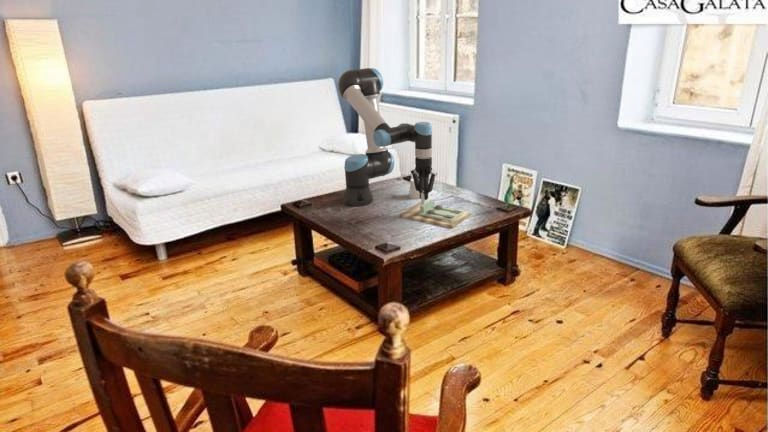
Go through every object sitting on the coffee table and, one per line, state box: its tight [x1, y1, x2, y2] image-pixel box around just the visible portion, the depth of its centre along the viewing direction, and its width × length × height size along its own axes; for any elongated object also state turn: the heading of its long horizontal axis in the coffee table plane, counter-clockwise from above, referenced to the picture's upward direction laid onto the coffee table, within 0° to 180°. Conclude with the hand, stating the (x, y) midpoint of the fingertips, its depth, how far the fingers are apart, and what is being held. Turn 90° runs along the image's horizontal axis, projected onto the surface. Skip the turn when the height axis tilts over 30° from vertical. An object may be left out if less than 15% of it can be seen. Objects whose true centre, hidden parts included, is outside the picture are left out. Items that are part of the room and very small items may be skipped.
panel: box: [419, 199, 464, 222], centre depth 231 cm, size 17×12×4 cm
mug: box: [408, 177, 431, 200], centre depth 259 cm, size 12×9×8 cm
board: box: [399, 202, 472, 229], centre depth 234 cm, size 28×18×4 cm, turn 55°
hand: (424, 205), depth 236 cm, fingers closed
